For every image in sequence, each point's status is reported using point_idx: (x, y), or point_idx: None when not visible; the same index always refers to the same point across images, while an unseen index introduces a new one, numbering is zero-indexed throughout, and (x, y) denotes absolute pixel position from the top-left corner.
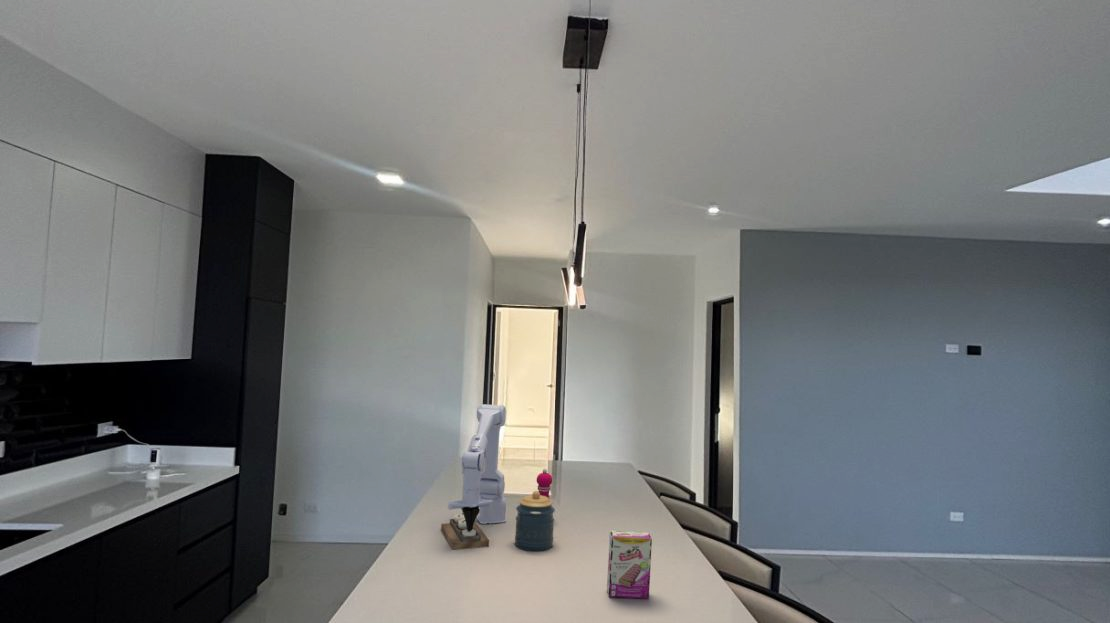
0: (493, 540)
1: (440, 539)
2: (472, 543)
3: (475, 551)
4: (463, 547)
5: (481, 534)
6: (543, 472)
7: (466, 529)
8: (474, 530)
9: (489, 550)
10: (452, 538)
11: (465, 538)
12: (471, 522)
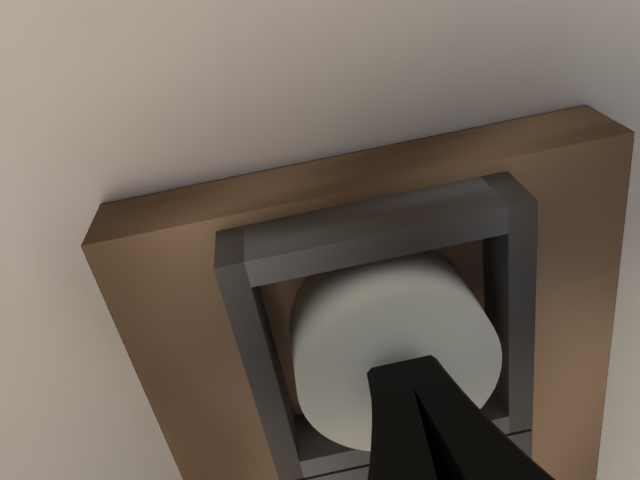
0: (59, 382)
1: (624, 388)
2: (335, 180)
3: (290, 16)
4: (449, 138)
5: (205, 426)
6: None
7: None
8: (314, 416)
9: (75, 46)
10: (587, 300)
11: (465, 203)
12: (429, 464)
